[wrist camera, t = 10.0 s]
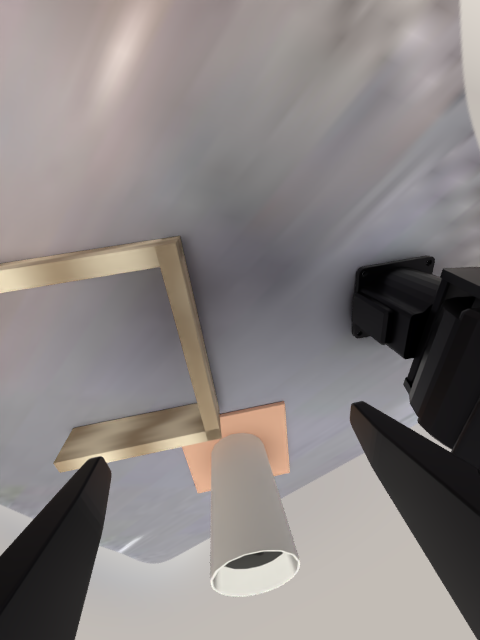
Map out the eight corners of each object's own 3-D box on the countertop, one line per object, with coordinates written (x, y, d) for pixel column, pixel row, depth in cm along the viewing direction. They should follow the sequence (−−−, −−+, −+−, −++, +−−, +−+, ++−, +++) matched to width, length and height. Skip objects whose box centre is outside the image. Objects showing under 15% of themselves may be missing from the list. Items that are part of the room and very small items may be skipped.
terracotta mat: (283, 401, 26) (284, 404, 25) (288, 469, 30) (289, 472, 30) (175, 423, 25) (175, 426, 24) (198, 489, 30) (198, 493, 29)
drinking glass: (198, 441, 26) (197, 568, 17) (261, 422, 26) (292, 539, 17) (217, 479, 29) (224, 605, 20) (273, 461, 29) (306, 579, 20)
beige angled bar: (179, 235, 18) (175, 243, 14) (219, 408, 25) (221, 438, 22) (-24, 267, 17) (-75, 282, 14) (78, 437, 24) (60, 472, 21)
